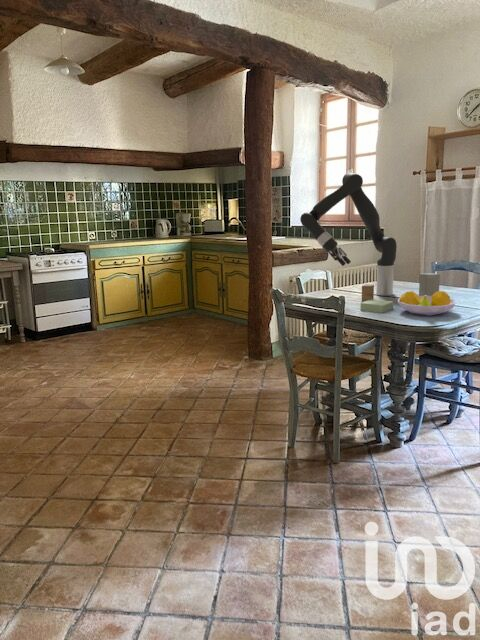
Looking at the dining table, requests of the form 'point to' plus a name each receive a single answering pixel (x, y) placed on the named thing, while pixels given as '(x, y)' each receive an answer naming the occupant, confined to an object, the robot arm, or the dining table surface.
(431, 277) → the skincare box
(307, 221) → the robot arm
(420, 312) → the fruit bowl
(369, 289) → the walnut block
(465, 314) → the dining table surface
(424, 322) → the dining table surface
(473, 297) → the dining table surface
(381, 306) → the sage platform block
